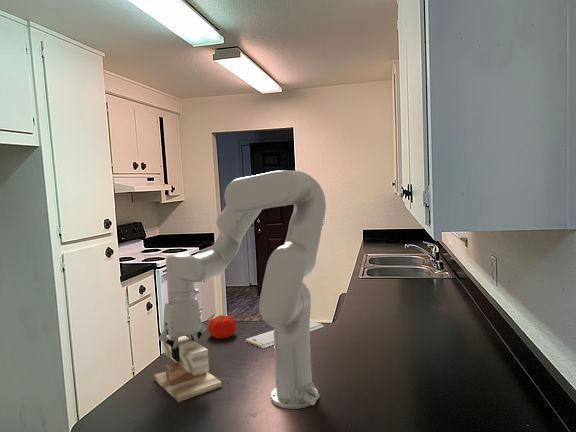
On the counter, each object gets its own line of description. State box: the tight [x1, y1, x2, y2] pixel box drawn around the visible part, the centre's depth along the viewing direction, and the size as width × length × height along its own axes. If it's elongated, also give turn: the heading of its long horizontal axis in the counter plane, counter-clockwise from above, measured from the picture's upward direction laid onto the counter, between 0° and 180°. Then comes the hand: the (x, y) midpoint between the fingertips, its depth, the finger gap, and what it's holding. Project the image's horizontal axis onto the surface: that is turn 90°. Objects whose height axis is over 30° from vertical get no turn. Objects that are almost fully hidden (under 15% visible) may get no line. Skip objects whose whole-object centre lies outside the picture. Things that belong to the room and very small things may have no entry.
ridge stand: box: [153, 361, 223, 403], centre depth 124 cm, size 18×13×6 cm
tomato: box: [207, 314, 237, 340], centre depth 163 cm, size 11×11×8 cm
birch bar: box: [162, 335, 210, 376], centre depth 124 cm, size 22×4×6 cm, turn 37°
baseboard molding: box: [245, 320, 325, 350], centre depth 162 cm, size 31×3×12 cm
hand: (184, 357), depth 124 cm, fingers closed on birch bar, 4 cm apart
